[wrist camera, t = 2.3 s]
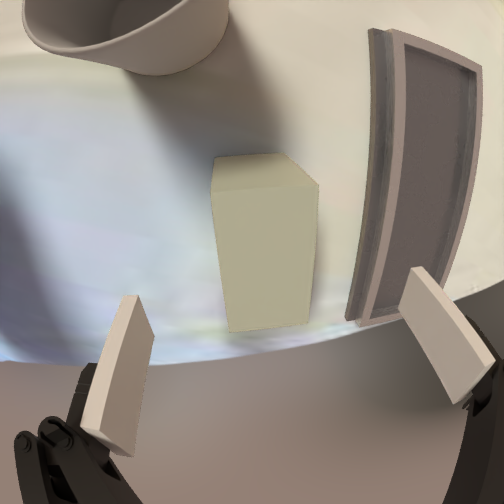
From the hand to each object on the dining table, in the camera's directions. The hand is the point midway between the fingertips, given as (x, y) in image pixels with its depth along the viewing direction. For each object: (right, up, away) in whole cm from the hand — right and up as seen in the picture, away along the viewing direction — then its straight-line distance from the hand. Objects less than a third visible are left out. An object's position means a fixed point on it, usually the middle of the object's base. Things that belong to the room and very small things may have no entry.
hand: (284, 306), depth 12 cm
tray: (+14, +8, +9) cm, 19 cm away
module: (-1, +6, +9) cm, 11 cm away
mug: (-7, +20, 0) cm, 21 cm away
